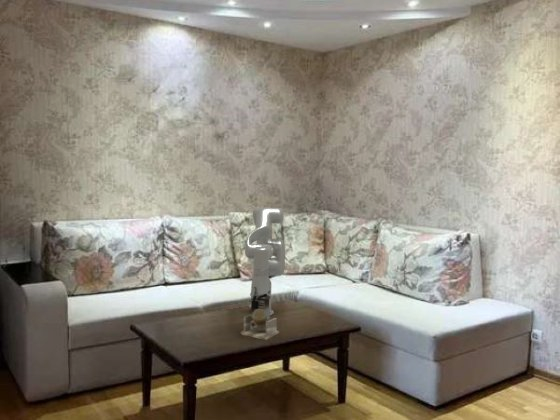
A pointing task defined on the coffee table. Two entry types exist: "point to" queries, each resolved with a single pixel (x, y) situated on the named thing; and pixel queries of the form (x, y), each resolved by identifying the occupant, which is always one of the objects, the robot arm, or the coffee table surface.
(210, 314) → the coffee table surface
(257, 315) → the coffee box
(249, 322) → the book rack
